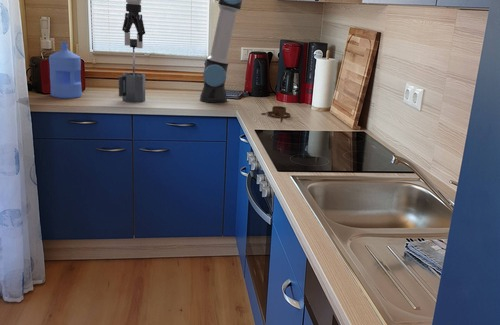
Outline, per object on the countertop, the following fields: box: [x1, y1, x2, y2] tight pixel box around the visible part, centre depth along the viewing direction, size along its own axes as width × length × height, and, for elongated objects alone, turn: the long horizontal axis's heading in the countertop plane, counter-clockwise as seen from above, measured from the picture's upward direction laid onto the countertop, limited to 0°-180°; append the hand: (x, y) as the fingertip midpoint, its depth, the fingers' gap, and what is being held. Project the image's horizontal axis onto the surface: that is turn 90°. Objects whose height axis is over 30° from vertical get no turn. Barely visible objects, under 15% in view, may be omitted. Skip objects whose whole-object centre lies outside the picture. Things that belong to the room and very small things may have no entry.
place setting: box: [261, 105, 291, 123], centre depth 254 cm, size 18×20×6 cm
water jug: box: [48, 41, 83, 99], centre depth 266 cm, size 16×16×28 cm
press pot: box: [118, 72, 146, 104], centre depth 267 cm, size 14×11×14 cm
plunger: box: [129, 38, 137, 76], centre depth 264 cm, size 8×8×20 cm
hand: (133, 46), depth 262 cm, fingers open, 13 cm apart
